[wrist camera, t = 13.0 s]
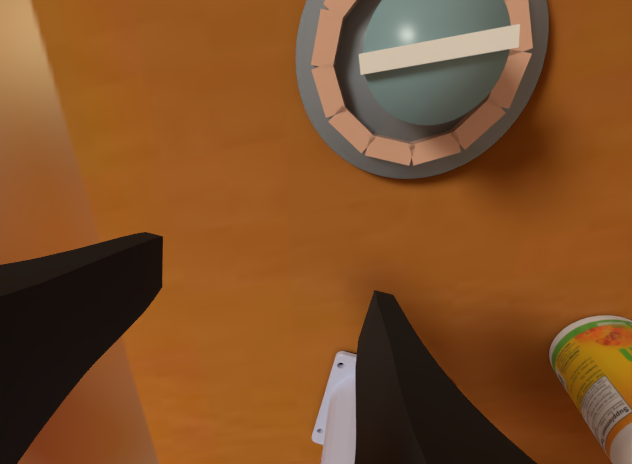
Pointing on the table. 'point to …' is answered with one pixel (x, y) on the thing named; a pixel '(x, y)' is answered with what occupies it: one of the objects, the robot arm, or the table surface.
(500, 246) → the table surface
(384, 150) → the socket
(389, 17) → the cylinder with tan strip
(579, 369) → the supplement bottle
